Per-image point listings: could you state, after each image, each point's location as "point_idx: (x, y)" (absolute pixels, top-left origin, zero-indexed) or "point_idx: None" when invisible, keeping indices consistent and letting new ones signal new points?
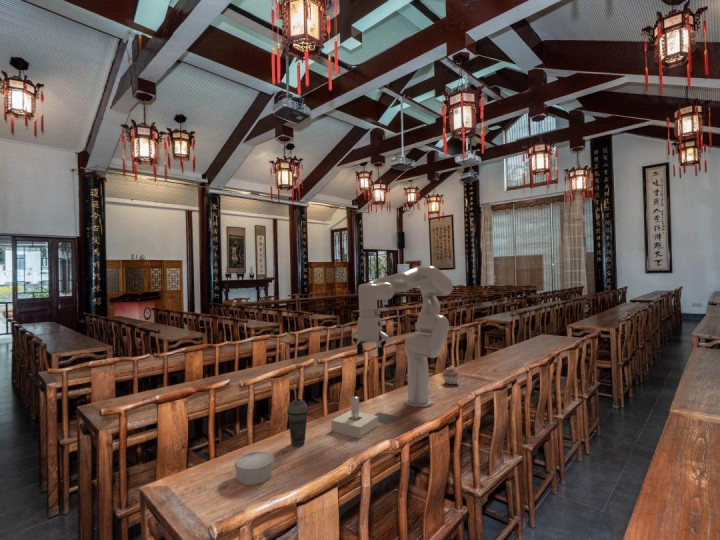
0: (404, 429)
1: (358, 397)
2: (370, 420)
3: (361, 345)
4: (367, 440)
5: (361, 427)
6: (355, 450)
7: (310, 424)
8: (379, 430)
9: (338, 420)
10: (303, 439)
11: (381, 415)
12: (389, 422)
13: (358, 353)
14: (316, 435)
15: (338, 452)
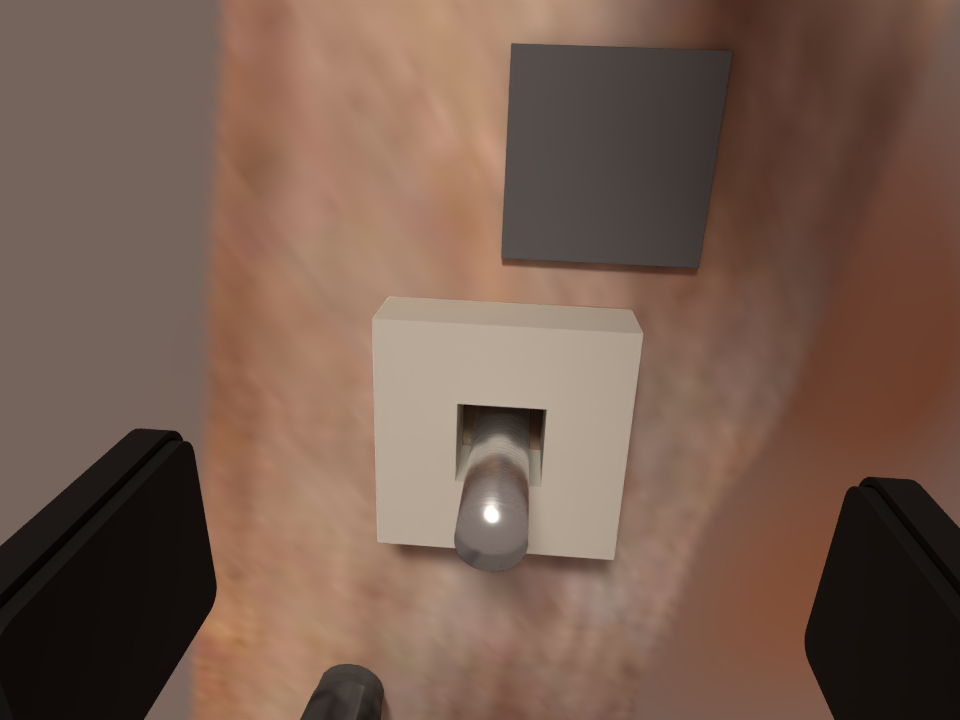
0: (836, 266)
1: (522, 531)
2: (625, 435)
3: (33, 700)
4: (657, 519)
5: (614, 543)
6: (649, 635)
7: (213, 478)
8: (666, 364)
9: (419, 526)
10: (379, 717)
11: (570, 111)
12: (693, 223)
13: (184, 630)
14: (357, 581)
15: (581, 679)
